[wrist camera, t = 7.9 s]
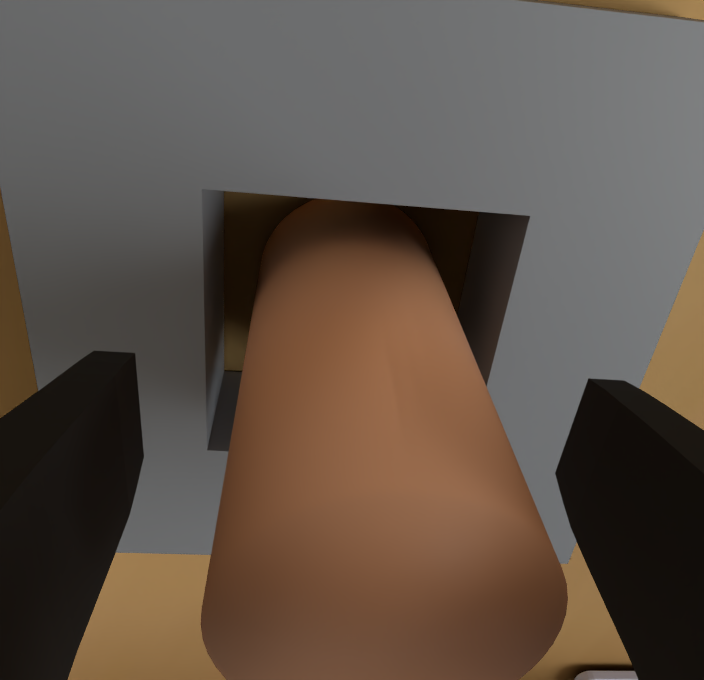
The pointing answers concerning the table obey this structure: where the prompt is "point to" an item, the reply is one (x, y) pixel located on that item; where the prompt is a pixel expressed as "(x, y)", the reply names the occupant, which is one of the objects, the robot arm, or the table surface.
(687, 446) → the robot arm
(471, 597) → the peg
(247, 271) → the table surface
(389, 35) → the socket board
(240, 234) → the table surface
